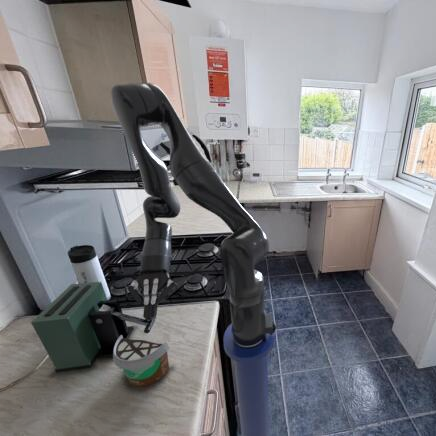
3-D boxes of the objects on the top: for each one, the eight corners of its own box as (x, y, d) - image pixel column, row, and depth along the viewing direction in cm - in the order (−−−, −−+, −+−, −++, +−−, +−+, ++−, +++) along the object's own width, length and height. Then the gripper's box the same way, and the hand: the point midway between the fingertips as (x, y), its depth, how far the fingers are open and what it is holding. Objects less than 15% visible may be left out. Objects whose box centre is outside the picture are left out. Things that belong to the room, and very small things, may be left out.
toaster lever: (154, 320, 66) (157, 314, 66) (147, 335, 62) (151, 328, 61) (103, 307, 62) (106, 300, 61) (92, 321, 57) (95, 314, 57)
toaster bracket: (134, 328, 68) (122, 293, 64) (118, 356, 60) (104, 319, 55) (115, 330, 68) (102, 295, 63) (97, 359, 59) (80, 322, 55)
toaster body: (117, 324, 70) (102, 280, 63) (90, 368, 57) (67, 318, 51) (89, 327, 68) (70, 282, 62) (55, 372, 56) (28, 322, 50)
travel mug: (102, 291, 82) (84, 242, 75) (115, 296, 80) (98, 245, 73) (82, 303, 77) (60, 251, 69) (96, 308, 75) (75, 255, 67)
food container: (108, 388, 53) (95, 358, 49) (129, 363, 59) (119, 334, 55) (158, 397, 52) (148, 367, 48) (175, 370, 57) (167, 341, 53)
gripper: (125, 255, 65) (114, 323, 58) (176, 252, 67) (171, 317, 61) (138, 261, 72) (129, 322, 65) (183, 258, 74) (179, 316, 68)
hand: (149, 319), depth 63 cm, fingers closed
